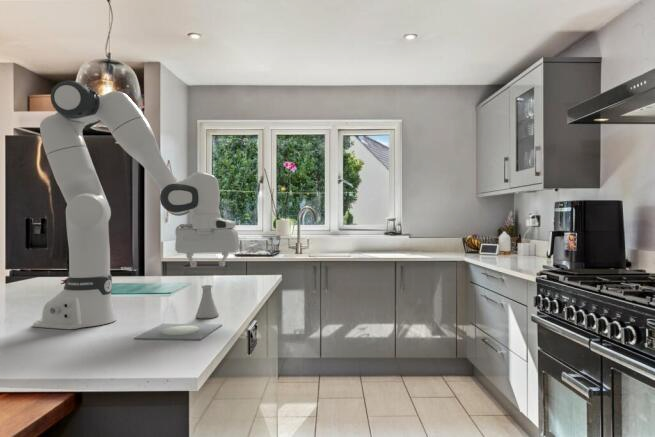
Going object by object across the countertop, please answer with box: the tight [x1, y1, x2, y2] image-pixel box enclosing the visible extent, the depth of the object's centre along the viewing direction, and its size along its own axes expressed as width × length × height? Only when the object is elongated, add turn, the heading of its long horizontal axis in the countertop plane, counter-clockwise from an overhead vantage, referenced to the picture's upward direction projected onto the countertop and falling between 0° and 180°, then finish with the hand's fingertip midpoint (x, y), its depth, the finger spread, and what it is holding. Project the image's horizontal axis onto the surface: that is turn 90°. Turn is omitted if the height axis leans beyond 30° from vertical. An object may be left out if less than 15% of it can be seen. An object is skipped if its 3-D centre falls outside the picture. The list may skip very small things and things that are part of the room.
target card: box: [133, 323, 223, 341], centre depth 124 cm, size 18×16×1 cm
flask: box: [195, 284, 220, 320], centre depth 144 cm, size 7×7×10 cm
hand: (207, 266), depth 144 cm, fingers open, 8 cm apart
